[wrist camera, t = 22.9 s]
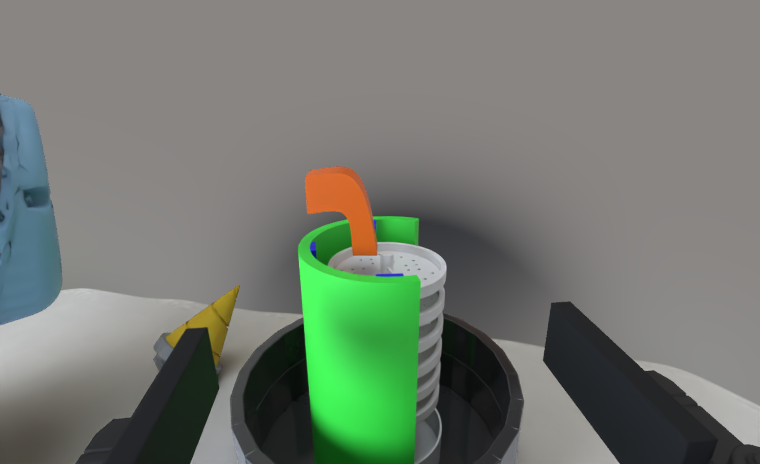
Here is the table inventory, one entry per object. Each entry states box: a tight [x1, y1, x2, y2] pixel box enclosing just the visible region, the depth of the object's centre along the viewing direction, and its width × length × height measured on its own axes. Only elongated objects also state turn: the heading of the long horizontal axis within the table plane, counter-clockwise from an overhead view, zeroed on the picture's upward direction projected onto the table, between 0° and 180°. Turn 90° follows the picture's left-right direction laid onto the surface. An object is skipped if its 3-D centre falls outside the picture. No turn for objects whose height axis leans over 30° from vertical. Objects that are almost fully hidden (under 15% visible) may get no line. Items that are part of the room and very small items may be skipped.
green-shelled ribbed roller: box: [298, 167, 446, 464], centre depth 23 cm, size 9×8×18 cm
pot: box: [230, 312, 524, 464], centre depth 25 cm, size 16×16×6 cm
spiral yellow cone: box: [153, 286, 240, 374], centre depth 33 cm, size 5×5×10 cm
